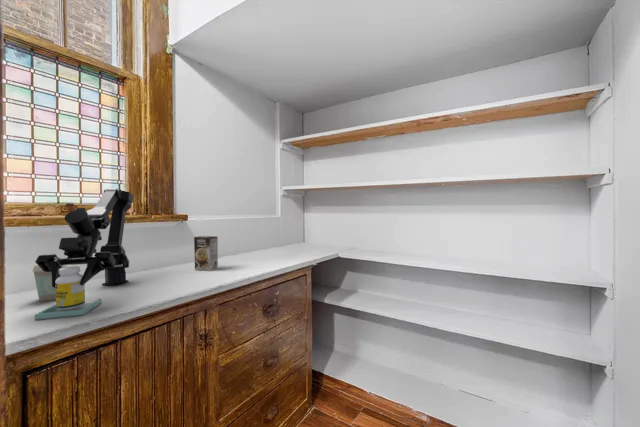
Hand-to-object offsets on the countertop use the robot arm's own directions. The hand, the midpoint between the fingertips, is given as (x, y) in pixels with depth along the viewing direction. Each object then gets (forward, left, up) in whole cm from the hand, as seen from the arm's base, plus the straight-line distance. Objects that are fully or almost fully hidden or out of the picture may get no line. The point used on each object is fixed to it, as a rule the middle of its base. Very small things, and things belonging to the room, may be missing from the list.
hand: (67, 285), depth 82 cm
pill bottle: (-1, +1, -7) cm, 7 cm away
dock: (0, +1, -8) cm, 8 cm away
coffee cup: (-20, +11, -8) cm, 24 cm away
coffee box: (+9, +58, -8) cm, 59 cm away
